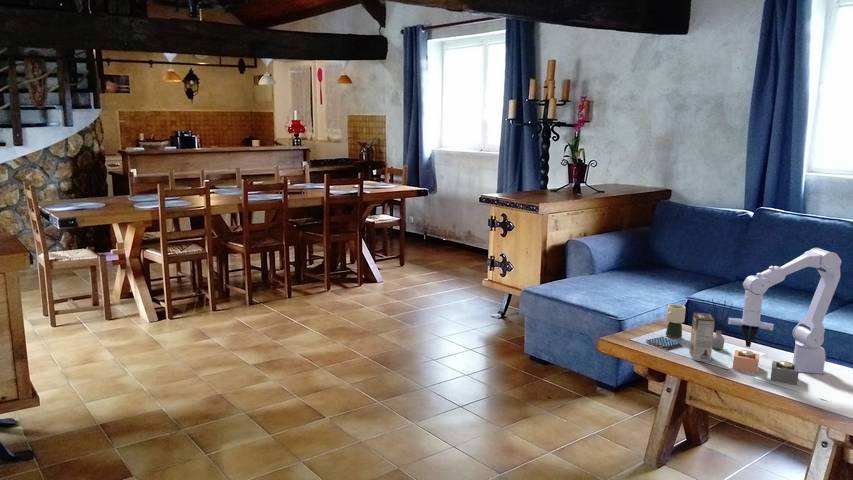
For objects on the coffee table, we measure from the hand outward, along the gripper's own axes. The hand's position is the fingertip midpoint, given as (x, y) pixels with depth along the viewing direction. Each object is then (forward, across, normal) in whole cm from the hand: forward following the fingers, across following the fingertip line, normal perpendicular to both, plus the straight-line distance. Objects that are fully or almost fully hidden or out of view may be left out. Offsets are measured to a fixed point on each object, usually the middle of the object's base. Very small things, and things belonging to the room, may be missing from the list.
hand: (748, 346), depth 240 cm
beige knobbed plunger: (+8, -12, +5) cm, 15 cm away
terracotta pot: (+8, 0, 0) cm, 8 cm away
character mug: (+8, +28, -24) cm, 38 cm away
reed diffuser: (+8, +12, -17) cm, 23 cm away
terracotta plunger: (+8, 0, 0) cm, 8 cm away
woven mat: (+9, +30, -11) cm, 33 cm away
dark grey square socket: (+8, -12, +6) cm, 16 cm away
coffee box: (+8, +16, -3) cm, 18 cm away
